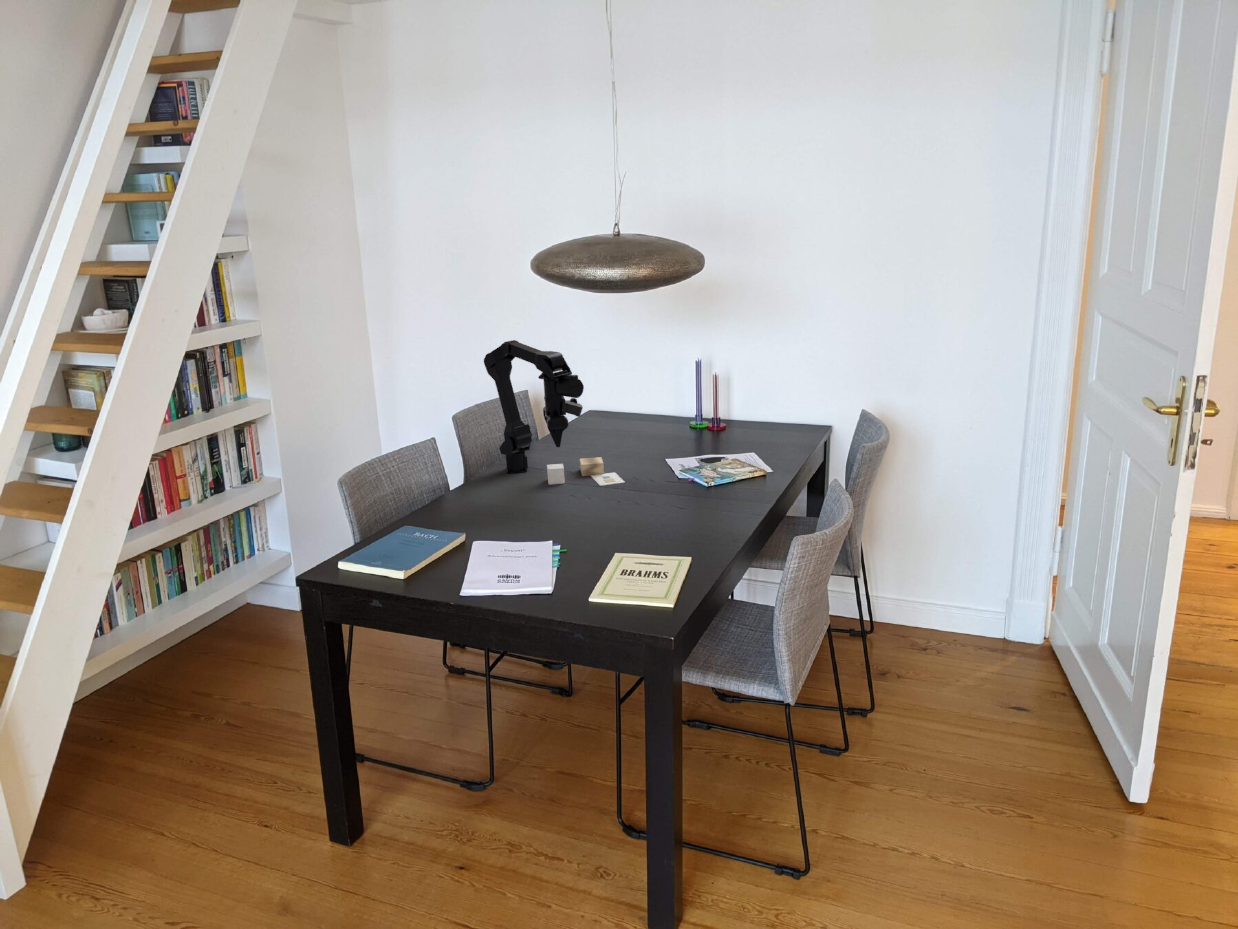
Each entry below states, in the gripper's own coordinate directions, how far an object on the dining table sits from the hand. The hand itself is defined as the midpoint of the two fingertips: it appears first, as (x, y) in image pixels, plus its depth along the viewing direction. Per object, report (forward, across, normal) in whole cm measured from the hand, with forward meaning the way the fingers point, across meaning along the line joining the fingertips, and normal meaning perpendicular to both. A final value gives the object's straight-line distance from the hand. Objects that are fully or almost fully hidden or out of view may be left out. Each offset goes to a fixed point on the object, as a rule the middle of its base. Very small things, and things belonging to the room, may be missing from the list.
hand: (556, 443), depth 294 cm
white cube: (+12, -1, +1) cm, 12 cm away
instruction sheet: (+12, -3, -15) cm, 19 cm away
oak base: (+12, +6, -11) cm, 18 cm away
